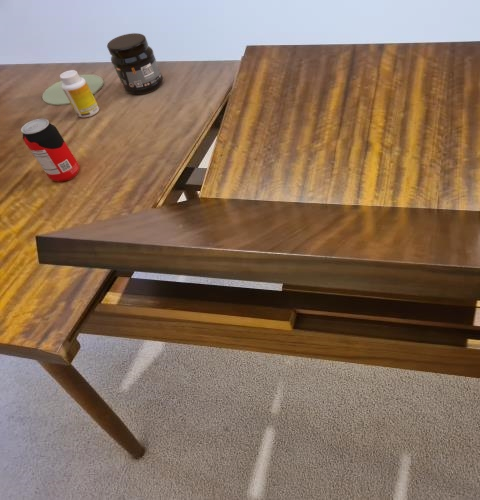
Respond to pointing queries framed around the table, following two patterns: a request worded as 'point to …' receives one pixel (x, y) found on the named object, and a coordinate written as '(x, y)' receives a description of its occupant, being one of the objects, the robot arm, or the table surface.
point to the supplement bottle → (79, 94)
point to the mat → (58, 97)
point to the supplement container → (135, 63)
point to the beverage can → (50, 150)
